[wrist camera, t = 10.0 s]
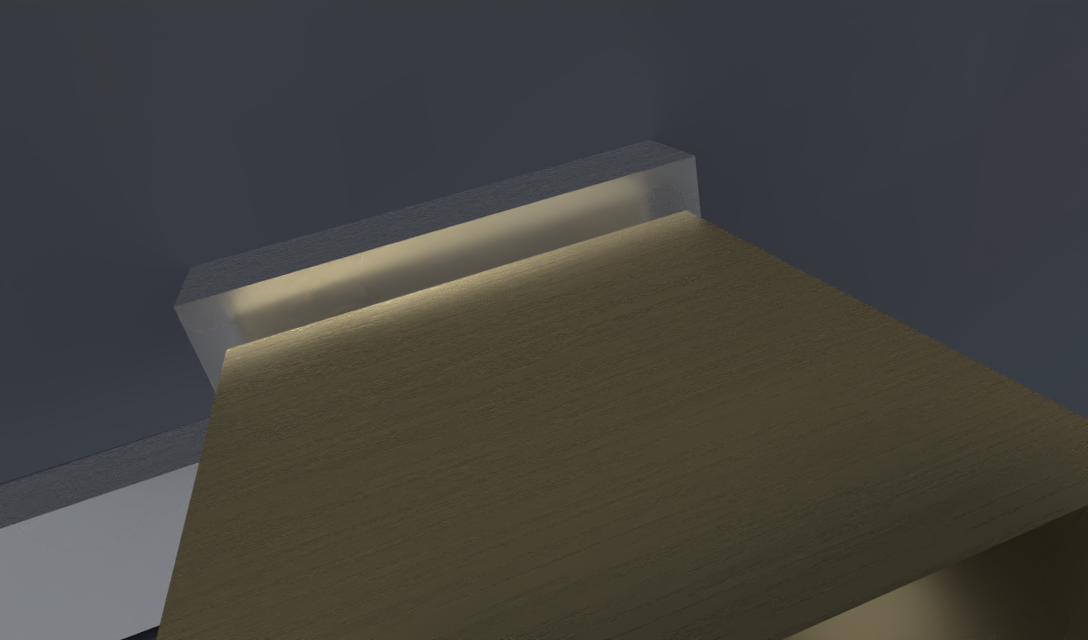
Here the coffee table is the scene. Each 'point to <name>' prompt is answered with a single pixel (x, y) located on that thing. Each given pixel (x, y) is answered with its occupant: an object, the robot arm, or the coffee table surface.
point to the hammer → (267, 309)
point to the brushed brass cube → (630, 466)
